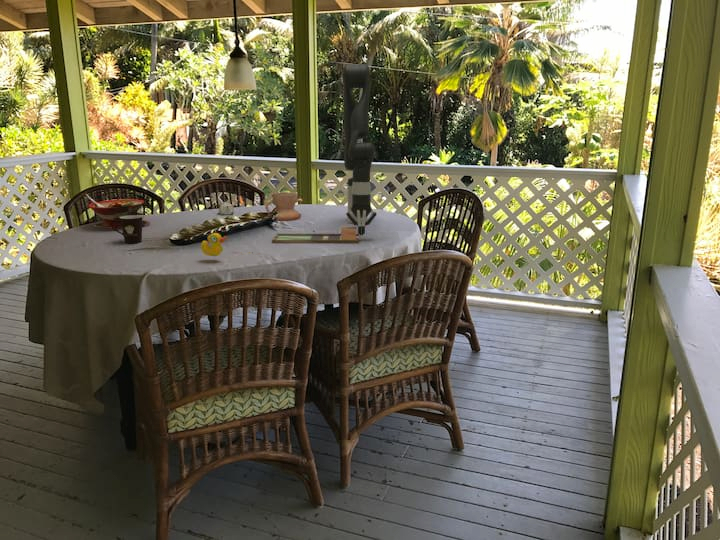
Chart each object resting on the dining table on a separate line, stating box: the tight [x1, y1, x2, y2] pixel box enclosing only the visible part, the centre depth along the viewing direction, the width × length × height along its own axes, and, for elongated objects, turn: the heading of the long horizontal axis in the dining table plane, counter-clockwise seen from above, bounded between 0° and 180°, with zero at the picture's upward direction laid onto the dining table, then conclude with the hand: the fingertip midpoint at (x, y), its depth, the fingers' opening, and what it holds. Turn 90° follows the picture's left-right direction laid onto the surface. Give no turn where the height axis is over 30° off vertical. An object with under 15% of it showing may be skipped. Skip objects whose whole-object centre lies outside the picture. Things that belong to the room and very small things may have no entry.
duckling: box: [200, 232, 227, 257], centre depth 207 cm, size 10×4×8 cm, turn 80°
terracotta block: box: [340, 226, 357, 240], centre depth 237 cm, size 6×6×4 cm
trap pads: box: [310, 236, 340, 240], centre depth 238 cm, size 12×12×1 cm
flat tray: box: [271, 233, 360, 244], centre depth 237 cm, size 14×35×1 cm, turn 90°
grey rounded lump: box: [217, 199, 236, 216], centre depth 285 cm, size 9×8×10 cm
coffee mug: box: [111, 214, 143, 244], centre depth 232 cm, size 12×9×10 cm
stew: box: [85, 192, 151, 230], centre depth 259 cm, size 28×24×16 cm
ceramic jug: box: [264, 191, 303, 222], centre depth 276 cm, size 18×14×14 cm
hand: (361, 235), depth 237 cm, fingers closed
